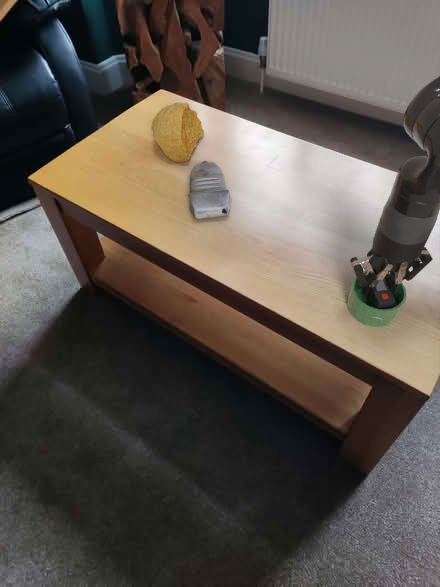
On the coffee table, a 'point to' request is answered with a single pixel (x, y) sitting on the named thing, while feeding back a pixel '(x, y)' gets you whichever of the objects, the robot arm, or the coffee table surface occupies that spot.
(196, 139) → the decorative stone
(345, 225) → the coffee table surface
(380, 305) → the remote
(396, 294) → the bowl
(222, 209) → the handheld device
